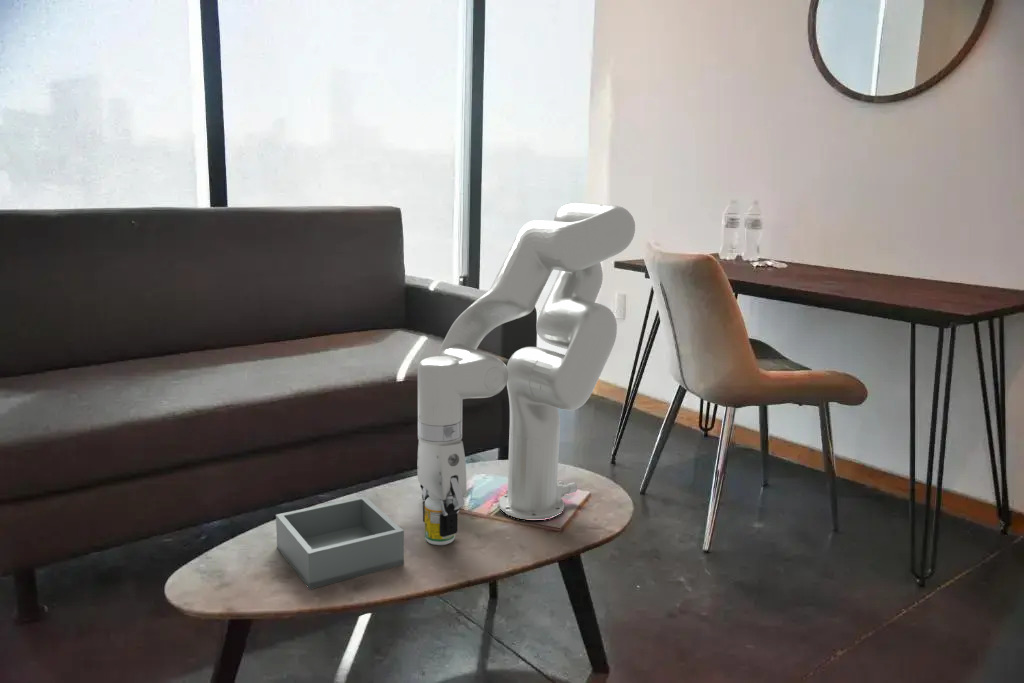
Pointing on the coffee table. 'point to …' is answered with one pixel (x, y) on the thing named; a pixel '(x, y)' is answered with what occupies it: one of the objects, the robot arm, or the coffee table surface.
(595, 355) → the robot arm
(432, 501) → the supplement bottle
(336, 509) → the tote
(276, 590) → the coffee table surface
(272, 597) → the coffee table surface
